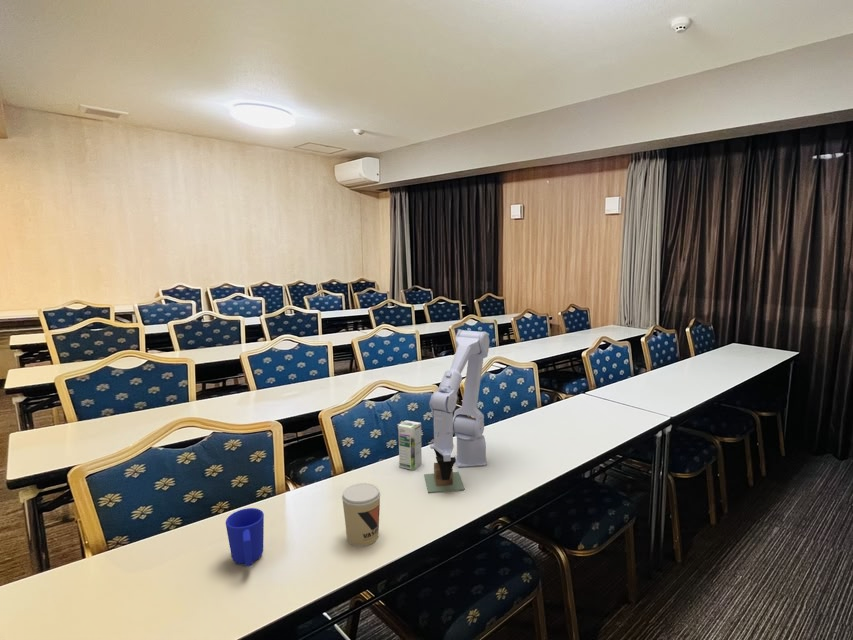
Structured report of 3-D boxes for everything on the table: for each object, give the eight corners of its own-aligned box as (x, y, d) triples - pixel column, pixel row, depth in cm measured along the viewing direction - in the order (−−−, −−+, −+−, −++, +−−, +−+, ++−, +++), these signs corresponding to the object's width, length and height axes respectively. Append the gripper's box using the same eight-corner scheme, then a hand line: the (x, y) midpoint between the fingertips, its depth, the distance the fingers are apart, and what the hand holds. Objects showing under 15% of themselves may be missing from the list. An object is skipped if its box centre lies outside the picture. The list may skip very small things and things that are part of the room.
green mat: (458, 472, 148) (458, 471, 148) (465, 490, 137) (465, 489, 137) (424, 475, 146) (424, 474, 146) (428, 493, 136) (428, 491, 136)
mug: (229, 584, 100) (225, 541, 98) (228, 551, 111) (225, 512, 109) (269, 573, 103) (266, 531, 101) (265, 542, 114) (262, 504, 112)
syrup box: (398, 467, 152) (397, 425, 150) (407, 460, 157) (406, 419, 155) (413, 471, 150) (412, 428, 147) (422, 463, 155) (421, 421, 153)
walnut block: (450, 476, 144) (449, 461, 144) (452, 484, 139) (452, 469, 139) (434, 478, 144) (433, 462, 143) (436, 486, 139) (436, 470, 138)
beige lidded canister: (365, 553, 109) (363, 505, 107) (335, 540, 114) (333, 495, 112) (389, 532, 117) (387, 488, 115) (360, 522, 122) (358, 479, 120)
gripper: (427, 422, 146) (428, 463, 148) (433, 441, 132) (433, 486, 134) (449, 421, 147) (449, 462, 149) (457, 439, 132) (458, 484, 134)
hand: (443, 473), depth 141 cm, fingers open, 7 cm apart
